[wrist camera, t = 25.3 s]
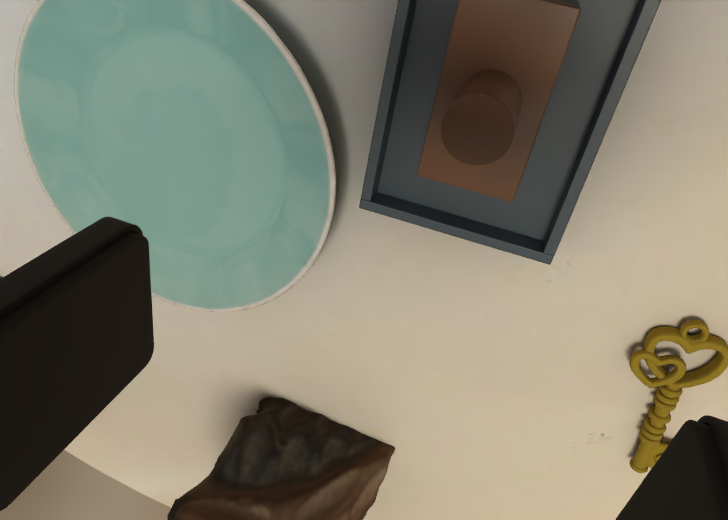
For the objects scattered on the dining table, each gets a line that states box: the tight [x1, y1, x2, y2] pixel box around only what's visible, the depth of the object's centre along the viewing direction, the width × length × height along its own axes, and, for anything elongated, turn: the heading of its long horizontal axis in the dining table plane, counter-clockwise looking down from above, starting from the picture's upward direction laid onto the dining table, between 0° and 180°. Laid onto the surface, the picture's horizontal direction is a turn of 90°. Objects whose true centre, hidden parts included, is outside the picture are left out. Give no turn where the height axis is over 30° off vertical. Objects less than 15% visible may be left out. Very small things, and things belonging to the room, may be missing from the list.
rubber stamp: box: [417, 0, 581, 202], centre depth 25 cm, size 9×5×8 cm, turn 170°
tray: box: [359, 0, 661, 264], centre depth 28 cm, size 15×11×2 cm
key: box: [630, 320, 728, 473], centre depth 34 cm, size 12×1×5 cm
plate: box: [14, 0, 336, 312], centre depth 35 cm, size 22×22×3 cm
